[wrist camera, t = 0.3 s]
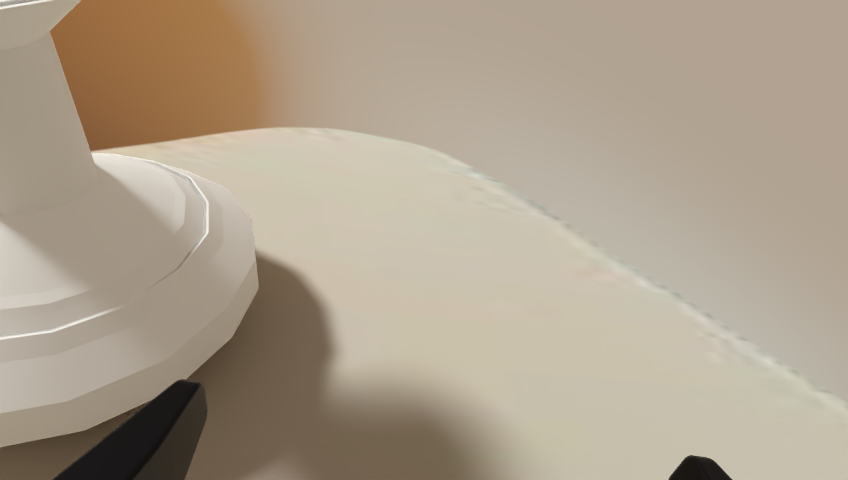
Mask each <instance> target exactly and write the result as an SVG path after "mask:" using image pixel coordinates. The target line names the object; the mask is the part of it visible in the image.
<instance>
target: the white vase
mask: <svg viewBox="0 0 848 480" xmlns="http://www.w3.org/2000/svg"><path fill="white" fill-rule="evenodd" d="M80 1H81V0H0V447H4V446H9V445H14V444H20V443H25V442H30V441H35V440H40V439H45V438H50V437H55V436H60V435H65V434H70V433H76V432H81V431H85V430H87V429H89V428H92V427H94V426H96V425H98V424H100V423H102V422H105V421H107V420H109V419H111V418H113V417H116V416H118V415H120V414H122V413H124V412H127V411H129V410H131V409H133V408H135V407H138V406H140V405H142V404H144V403H146V402H149V401H151V400H153V399H154V398H155V397H157V396H158V395H159V394H160V393H162V392H163V391H164V390H165V389H167V388H168V387H169V386H170V385H172V384H173V383H174V382H176V381H178V380H180V379H187V378H188V377H189V376H190V375H191V374H192V373H194V372H195V371H196V370H197V369H198V368H199V367H200V366H201V365H202V364H203V363H205V362H206V361H207V360H208V359H209V358H210V357H211V356H212V355H213V354H214V353H216V352H217V351H218V350H219V349H220V348H221V347H222V346H223V345H224V344H225V343H226V342H228V341H229V340H230V339H231V338H232V337H233V335H234V333H235V331H236V330H237V328H238V326H239V324H240V322H241V320H242V319H243V317H244V315H245V313H246V311H247V309H248V307H249V306H250V304H251V302H252V300H253V298H254V296H255V295H256V293H257V291H258V289H259V283H258V273H257V264H256V254H255V245H254V236H253V227H252V219H251V218H250V217H249V215H248V214H247V213H246V212H245V210H244V209H243V208H242V206H241V205H240V204H239V203H238V201H237V200H236V199H235V197H234V196H233V195H232V194H231V192H230V191H229V190H228V189H227V188H225V187H223V186H220V185H218V184H216V183H214V182H211V181H209V180H207V179H205V178H202V177H200V176H198V175H196V174H193V173H191V172H189V171H187V170H184V169H180V168H176V167H172V166H168V165H164V164H162V163H159V162H156V161H151V160H145V159H139V158H134V157H128V156H122V155H117V154H102V153H91V151H90V149H89V146H88V143H87V140H86V137H85V134H84V131H83V128H82V125H81V122H80V119H79V117H78V113H77V111H76V107H75V105H74V102H73V99H72V96H71V93H70V90H69V87H68V84H67V81H66V78H65V75H64V73H63V69H62V66H61V64H60V60H59V57H58V55H57V52H56V49H55V46H54V43H53V40H52V37H51V34H50V30H51V29H52V28H53V27H54V26H55V25H56V24H57V23H58V22H59V21H60V20H61V19H62V18H63V17H64V16H65V15H66V14H67V13H68V12H69V11H71V10H72V9H73V8H74V7H75V6H76V5H77V4H78V3H79V2H80Z"/></svg>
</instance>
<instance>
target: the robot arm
mask: <svg viewBox="0 0 848 480" xmlns="http://www.w3.org/2000/svg"><path fill="white" fill-rule="evenodd" d="M206 417H207V404H206V396H205V389H204V385H203V383H202V382H199V381H193V380H186V379H180V380H178V381H176V382H174V383H173V384H172V385H170V386H169V387H168V388H167V389H165V390H164V391H163V392H162V393H160V394H159V395H158V396H157V397H155V398H154V399H153V400H151V401H150V402H149V403H148V404H146V405H145V406H144V407H143V408H141V409H140V410H139V411H138V412H136V413H135V414H134V415H133V416H131V417H130V418H129V419H128V420H126V421H125V422H124V423H123V424H121V425H120V426H119V427H117V428H116V429H115V430H114V431H112V432H111V433H110V434H109V435H107V436H106V437H105V438H104V439H102V440H101V441H100V442H99V443H97V444H96V445H95V446H94V447H92V448H91V449H90V450H89V451H87V452H86V453H85V454H83V455H82V456H81V457H80V458H78V459H77V460H76V461H75V462H73V463H72V464H71V465H70V466H68V467H67V468H66V469H65V470H63V471H62V472H61V473H60V474H58V475H57V476H56V477H54V478H53V479H52V480H185V477H186V474H187V471H188V469H189V466H190V463H191V460H192V458H193V455H194V452H195V449H196V447H197V444H198V441H199V438H200V436H201V433H202V430H203V427H204V424H205V421H206ZM669 480H732V479H731V478H730V477H729V476H728V475H727V474H726V473H725V472H724V471H723V469H722V468H721V467H720V466H719V465H718V464H717V463H716V462H715V461H713V460H712V459H710V458H706V457H700V456H693V455H690V456H687V457H686V458H685V459H684V460H683V461H682V462H681V464H680V465H679V466H678V467H677V469H676V470H675V471H674V472H673V473H672V475H671V476H670V477H669Z"/></svg>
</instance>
